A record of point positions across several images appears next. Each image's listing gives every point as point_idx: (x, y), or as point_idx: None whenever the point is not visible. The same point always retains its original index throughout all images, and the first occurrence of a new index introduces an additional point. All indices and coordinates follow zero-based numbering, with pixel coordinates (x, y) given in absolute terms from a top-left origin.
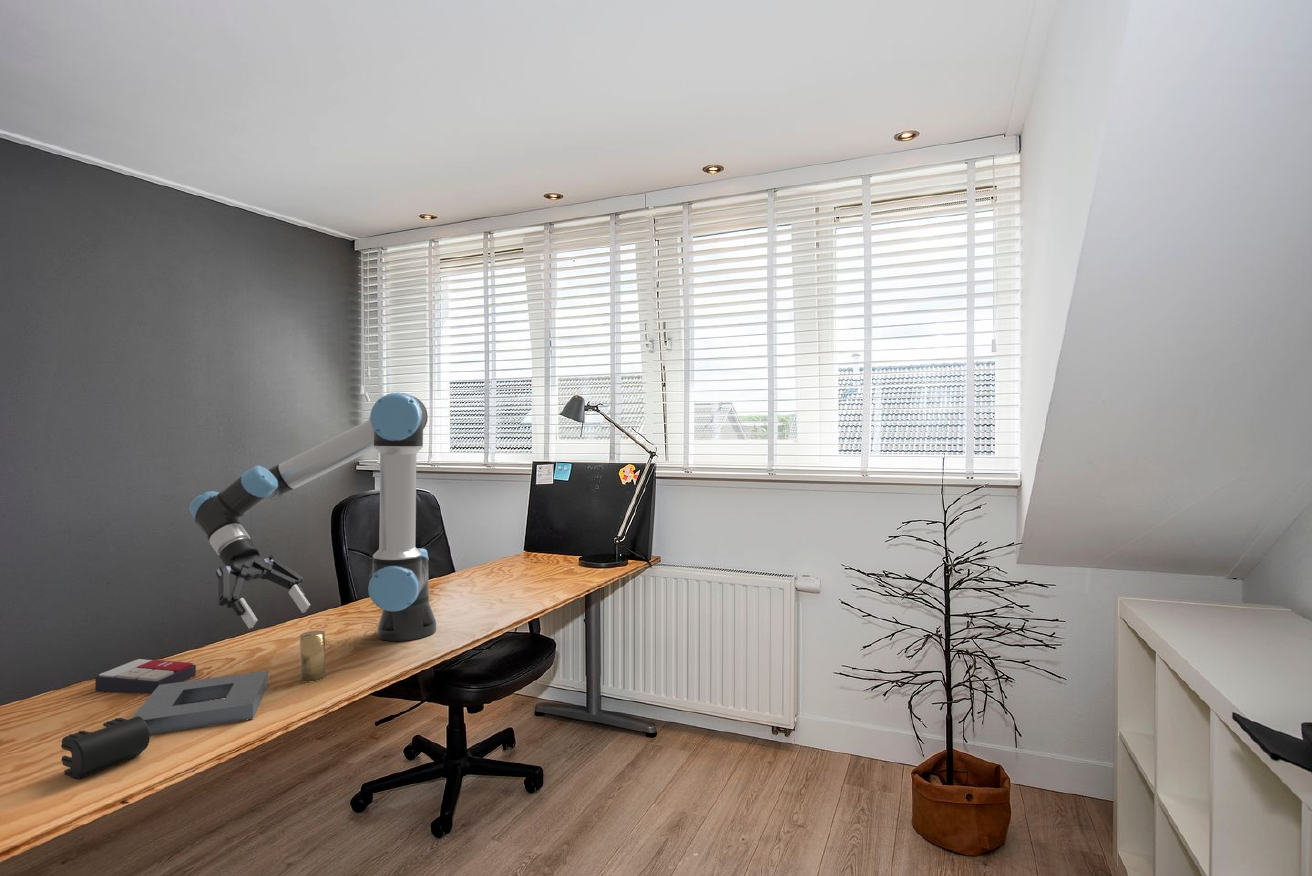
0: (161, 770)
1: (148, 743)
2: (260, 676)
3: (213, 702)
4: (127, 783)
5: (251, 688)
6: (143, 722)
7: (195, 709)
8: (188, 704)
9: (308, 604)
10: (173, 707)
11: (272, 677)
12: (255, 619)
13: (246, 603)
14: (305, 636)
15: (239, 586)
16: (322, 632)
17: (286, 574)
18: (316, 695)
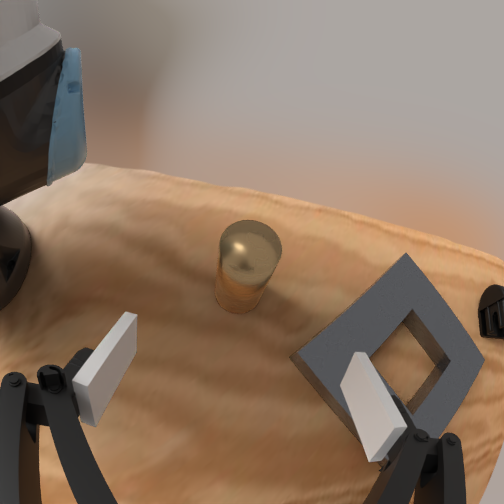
0: (475, 261)
1: (484, 291)
2: (328, 338)
3: (426, 312)
4: (490, 269)
5: (374, 302)
6: (501, 286)
7: (444, 315)
8: (441, 342)
9: (129, 315)
10: (452, 352)
11: (253, 380)
12: (362, 355)
13: (385, 403)
14: (275, 248)
15: (401, 484)
16: (234, 228)
17: (27, 463)
18: (304, 234)
